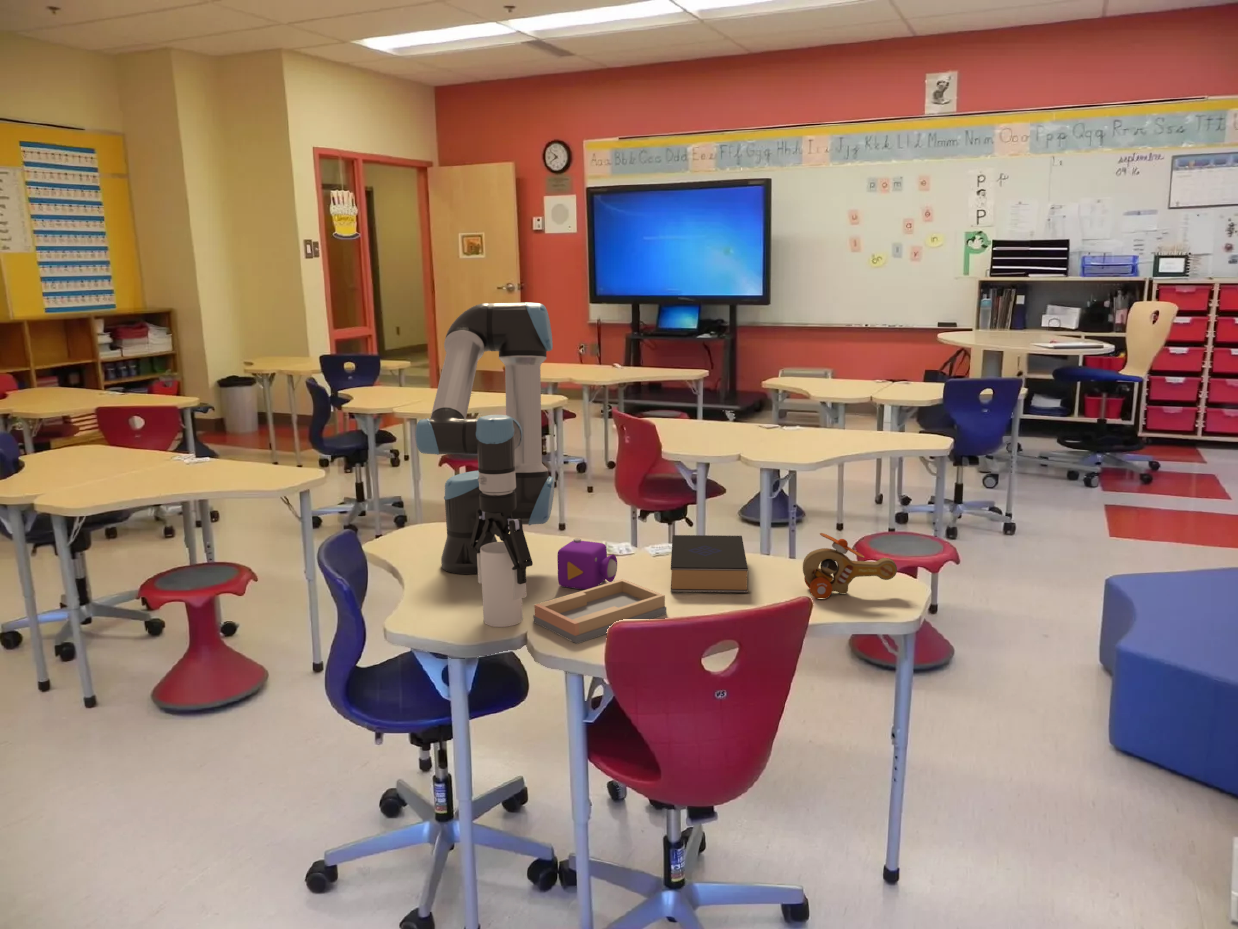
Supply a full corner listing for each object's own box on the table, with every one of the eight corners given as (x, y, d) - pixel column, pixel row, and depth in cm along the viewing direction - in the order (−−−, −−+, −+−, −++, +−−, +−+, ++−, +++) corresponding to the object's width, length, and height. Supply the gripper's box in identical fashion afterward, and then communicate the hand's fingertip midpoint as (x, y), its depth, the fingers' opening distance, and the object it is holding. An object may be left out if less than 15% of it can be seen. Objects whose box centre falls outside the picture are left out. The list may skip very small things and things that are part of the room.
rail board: (533, 622, 196) (533, 604, 195) (621, 595, 211) (621, 578, 210) (576, 643, 185) (576, 624, 184) (666, 613, 200) (666, 595, 199)
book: (741, 560, 235) (742, 535, 234) (747, 596, 211) (748, 568, 209) (672, 560, 236) (672, 535, 235) (670, 595, 212) (670, 567, 211)
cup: (484, 613, 202) (481, 542, 198) (523, 611, 202) (520, 540, 199) (482, 628, 194) (478, 554, 190) (522, 626, 194) (519, 552, 191)
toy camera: (613, 594, 212) (612, 552, 210) (555, 591, 215) (553, 549, 213) (622, 578, 222) (622, 538, 220) (567, 575, 225) (565, 535, 223)
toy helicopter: (799, 587, 214) (800, 530, 212) (890, 587, 214) (893, 529, 211) (805, 600, 206) (807, 540, 204) (900, 599, 206) (903, 540, 203)
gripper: (451, 483, 199) (455, 579, 203) (515, 505, 180) (519, 609, 185) (481, 478, 204) (485, 571, 208) (547, 498, 185) (550, 600, 189)
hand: (501, 589), depth 196 cm, fingers open, 13 cm apart
